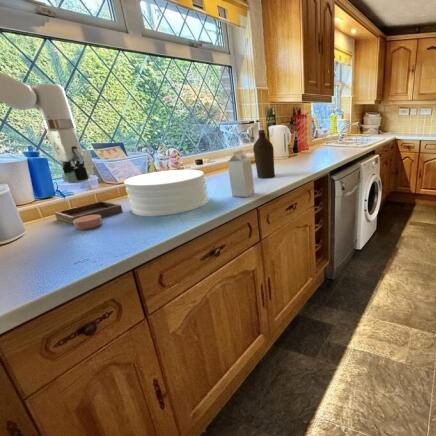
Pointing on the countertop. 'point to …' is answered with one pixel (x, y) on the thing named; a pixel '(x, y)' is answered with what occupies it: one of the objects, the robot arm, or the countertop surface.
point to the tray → (88, 211)
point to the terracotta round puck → (87, 222)
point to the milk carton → (241, 175)
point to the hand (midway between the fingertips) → (77, 178)
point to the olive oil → (264, 156)
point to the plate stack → (166, 192)
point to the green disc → (73, 177)
